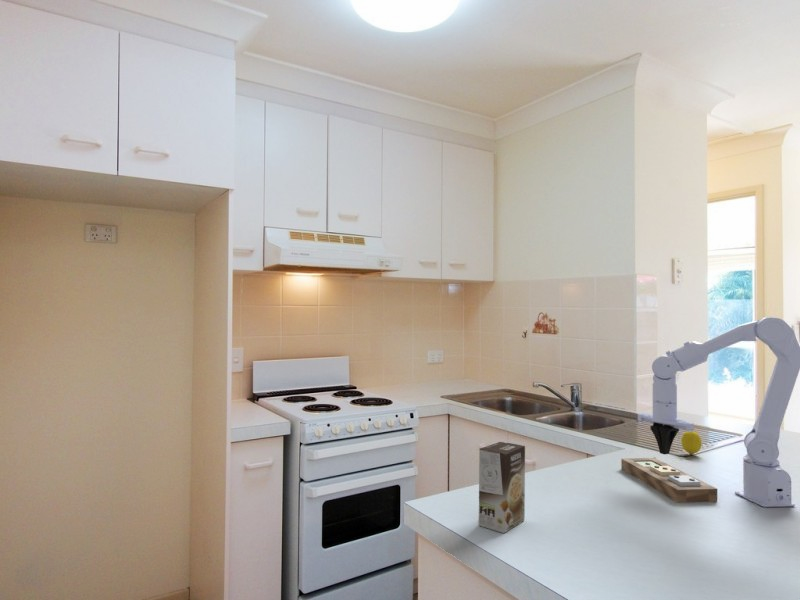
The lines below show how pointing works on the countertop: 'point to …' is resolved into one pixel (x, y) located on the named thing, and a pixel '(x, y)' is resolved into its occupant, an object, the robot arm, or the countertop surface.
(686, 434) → the lemon
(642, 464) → the button one
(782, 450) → the countertop surface
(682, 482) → the button two
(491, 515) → the coffee box
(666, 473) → the button three
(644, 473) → the frame
